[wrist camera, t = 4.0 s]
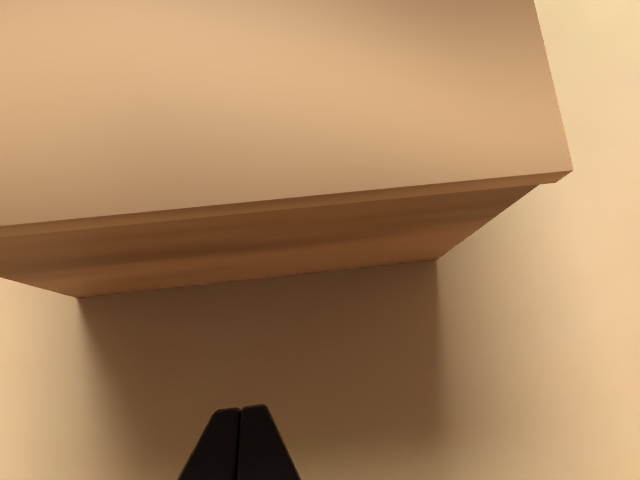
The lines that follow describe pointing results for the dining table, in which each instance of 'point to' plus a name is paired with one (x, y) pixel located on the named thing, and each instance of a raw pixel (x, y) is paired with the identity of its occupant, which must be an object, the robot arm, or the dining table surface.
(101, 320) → the dining table surface
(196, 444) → the robot arm
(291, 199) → the tea box
